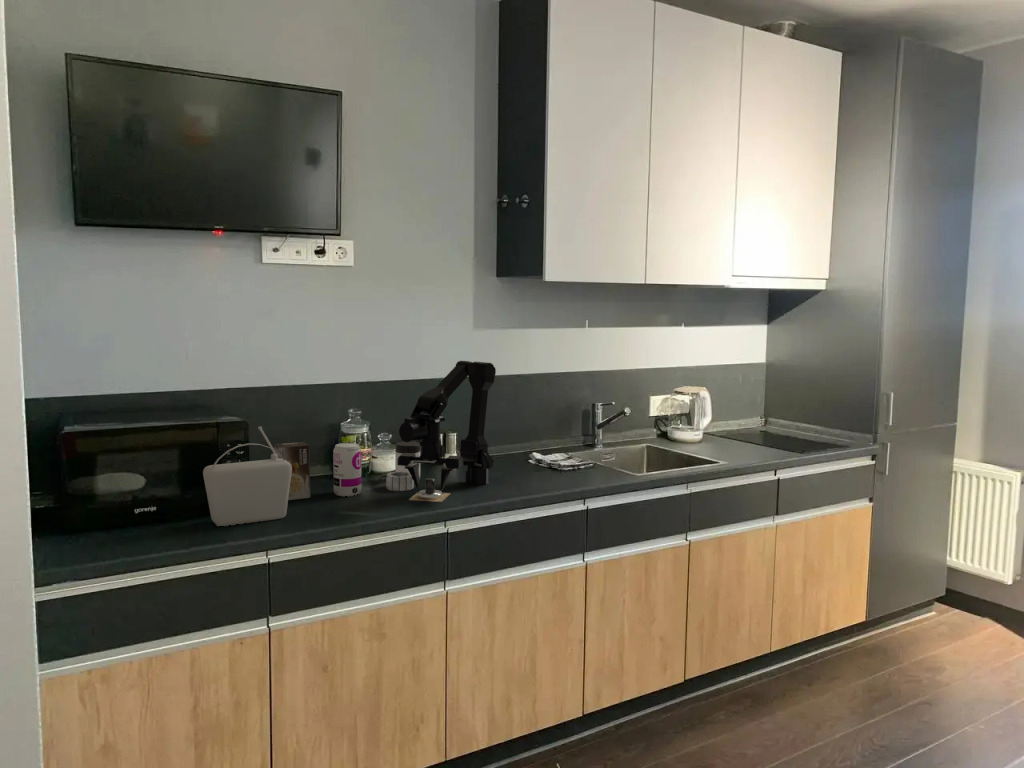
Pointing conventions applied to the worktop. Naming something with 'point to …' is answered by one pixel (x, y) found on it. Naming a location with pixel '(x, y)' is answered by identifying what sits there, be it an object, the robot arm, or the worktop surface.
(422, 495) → the lid
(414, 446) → the jar
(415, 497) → the plate
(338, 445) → the supplement can
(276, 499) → the radio
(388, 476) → the pot
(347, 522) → the worktop surface
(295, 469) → the coffee box
